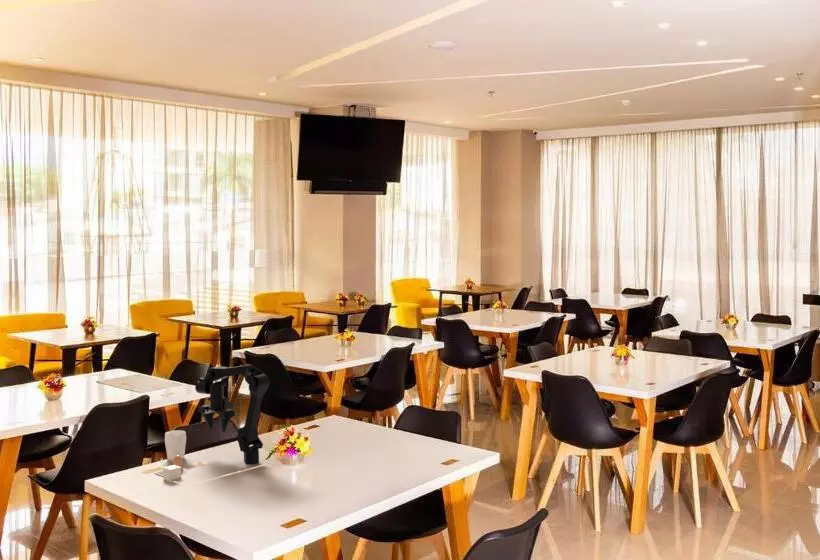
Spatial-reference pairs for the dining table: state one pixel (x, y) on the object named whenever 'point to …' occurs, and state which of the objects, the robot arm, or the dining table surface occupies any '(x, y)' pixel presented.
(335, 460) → the dining table surface
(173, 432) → the cup
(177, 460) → the pawn
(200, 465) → the track
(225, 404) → the robot arm
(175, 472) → the die
